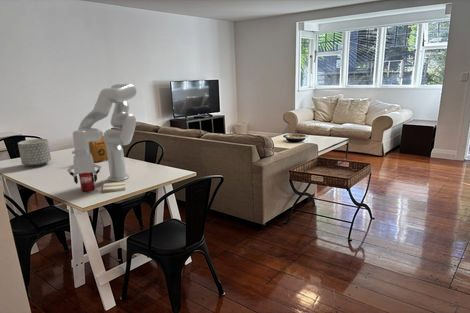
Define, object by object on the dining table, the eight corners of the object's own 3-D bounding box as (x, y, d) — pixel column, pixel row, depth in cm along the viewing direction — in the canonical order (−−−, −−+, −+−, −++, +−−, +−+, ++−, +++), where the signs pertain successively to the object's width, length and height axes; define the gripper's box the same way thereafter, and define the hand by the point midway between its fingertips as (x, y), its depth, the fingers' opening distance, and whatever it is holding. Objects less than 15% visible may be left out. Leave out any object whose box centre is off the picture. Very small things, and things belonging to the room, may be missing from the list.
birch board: (104, 185, 195) (103, 183, 195) (125, 183, 199) (124, 181, 198) (102, 192, 184) (102, 190, 184) (125, 189, 188) (125, 187, 187)
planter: (35, 169, 233) (30, 144, 229) (16, 167, 240) (11, 143, 235) (57, 162, 251) (53, 139, 246) (39, 161, 257) (35, 138, 253)
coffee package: (110, 160, 254) (107, 132, 248) (94, 163, 245) (90, 134, 240) (105, 158, 261) (101, 130, 255) (89, 161, 252) (85, 133, 247)
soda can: (92, 193, 184) (90, 172, 181) (79, 193, 183) (76, 173, 180) (97, 188, 191) (94, 168, 188) (84, 189, 190) (81, 169, 187)
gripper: (64, 155, 175) (68, 185, 179) (98, 152, 180) (102, 182, 184) (66, 152, 182) (70, 182, 186) (99, 150, 187) (103, 178, 191)
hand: (86, 182), depth 185 cm, fingers open, 9 cm apart
